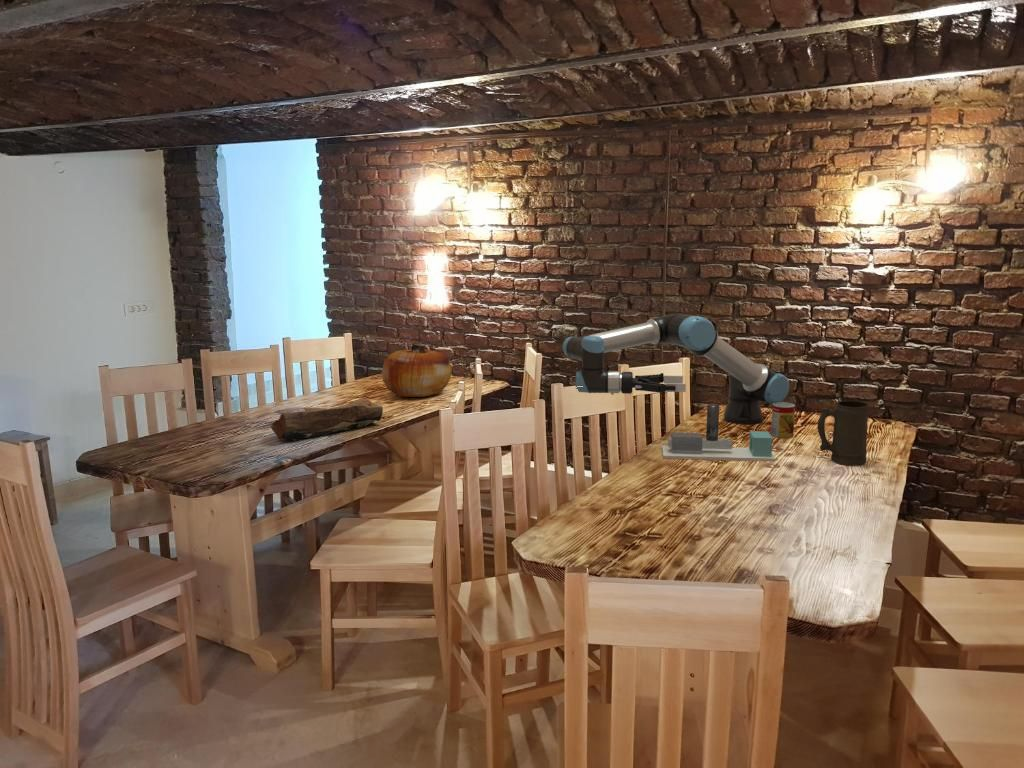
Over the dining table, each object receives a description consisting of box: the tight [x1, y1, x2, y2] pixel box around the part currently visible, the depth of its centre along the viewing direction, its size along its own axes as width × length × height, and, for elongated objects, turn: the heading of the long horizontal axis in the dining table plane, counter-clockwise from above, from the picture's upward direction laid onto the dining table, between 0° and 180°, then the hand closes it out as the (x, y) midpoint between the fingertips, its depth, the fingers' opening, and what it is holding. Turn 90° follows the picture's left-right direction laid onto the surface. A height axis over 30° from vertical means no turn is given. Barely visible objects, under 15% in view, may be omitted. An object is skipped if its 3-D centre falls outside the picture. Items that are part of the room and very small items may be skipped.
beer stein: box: [817, 400, 870, 467], centre depth 242 cm, size 15×11×20 cm
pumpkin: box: [381, 343, 453, 398], centre depth 355 cm, size 33×33×25 cm
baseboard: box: [661, 445, 777, 463], centre depth 254 cm, size 36×12×1 cm, turn 81°
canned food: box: [770, 401, 796, 440], centre depth 274 cm, size 8×8×12 cm
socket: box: [748, 430, 773, 457], centre depth 251 cm, size 6×8×6 cm
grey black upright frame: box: [667, 403, 733, 450], centre depth 253 cm, size 21×4×15 cm, turn 81°
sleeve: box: [670, 431, 703, 454], centre depth 254 cm, size 10×6×6 cm, turn 81°
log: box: [270, 398, 384, 441], centre depth 292 cm, size 42×18×15 cm, turn 129°
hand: (684, 383), depth 250 cm, fingers open, 13 cm apart
